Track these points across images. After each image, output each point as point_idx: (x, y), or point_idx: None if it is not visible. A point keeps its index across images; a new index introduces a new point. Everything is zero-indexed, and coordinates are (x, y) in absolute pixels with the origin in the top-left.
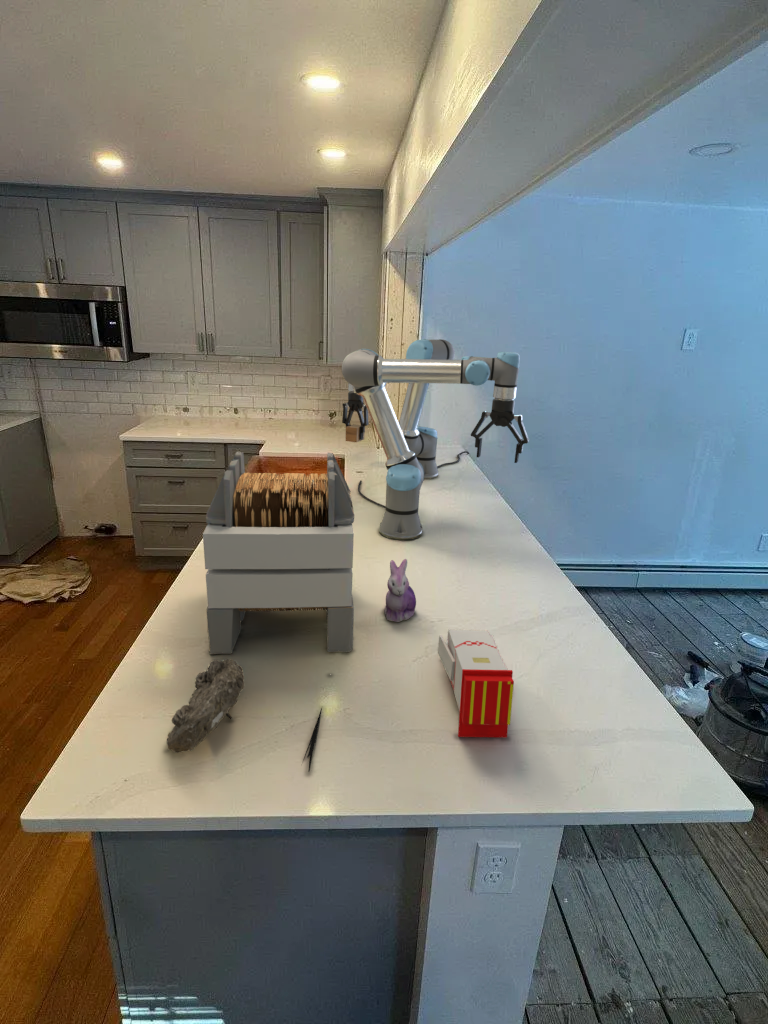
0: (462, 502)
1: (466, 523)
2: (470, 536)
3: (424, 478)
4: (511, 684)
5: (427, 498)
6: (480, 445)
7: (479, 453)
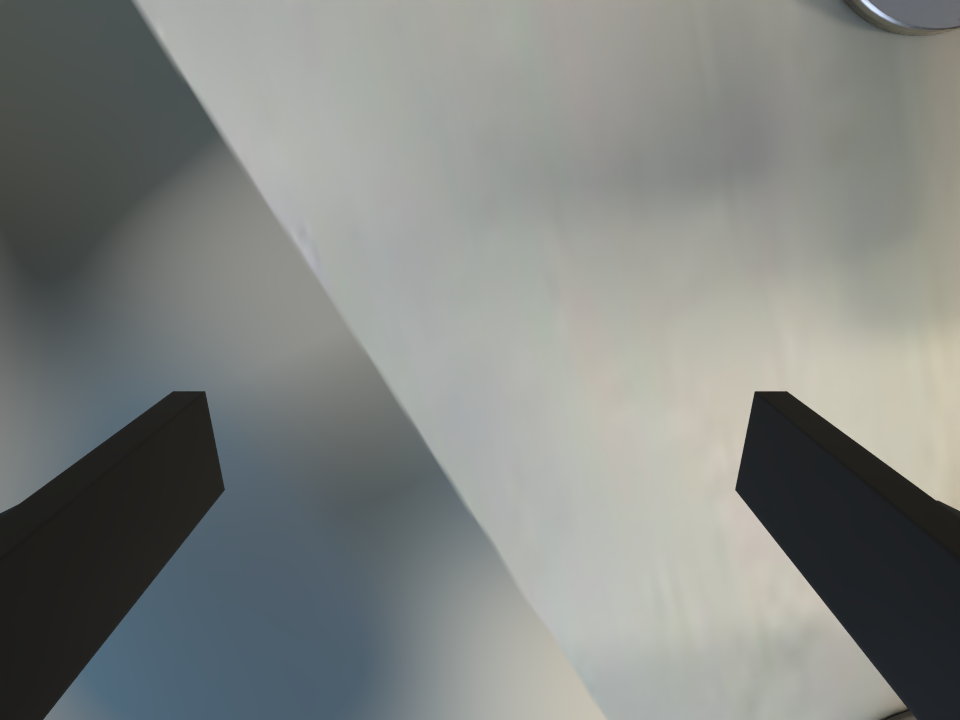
0: (679, 526)
1: (602, 255)
2: (538, 64)
3: (905, 717)
4: None
5: None
6: (864, 558)
7: (776, 453)
